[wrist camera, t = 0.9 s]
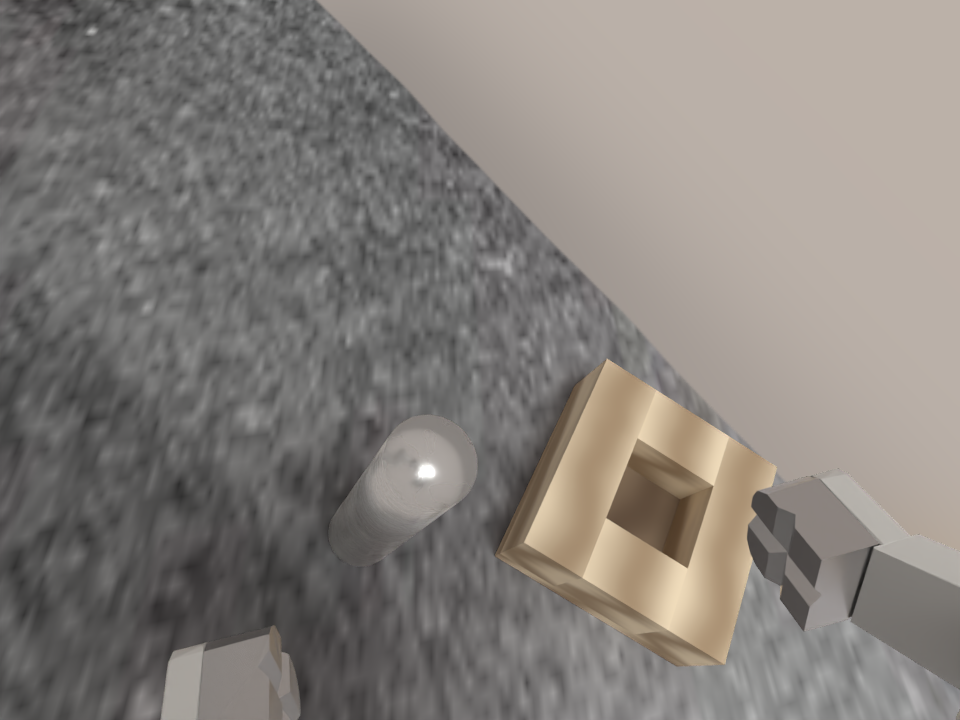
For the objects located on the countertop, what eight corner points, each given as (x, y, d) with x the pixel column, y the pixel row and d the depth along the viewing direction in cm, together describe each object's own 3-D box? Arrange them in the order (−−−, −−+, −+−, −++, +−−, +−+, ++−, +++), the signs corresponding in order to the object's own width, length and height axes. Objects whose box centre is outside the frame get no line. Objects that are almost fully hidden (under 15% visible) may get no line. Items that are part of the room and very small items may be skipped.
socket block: (494, 555, 45) (524, 542, 41) (574, 385, 52) (607, 358, 48) (677, 666, 46) (724, 664, 42) (731, 484, 53) (777, 467, 49)
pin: (315, 544, 42) (364, 476, 28) (350, 487, 44) (413, 397, 30) (373, 579, 42) (450, 528, 28) (406, 521, 44) (492, 446, 30)
